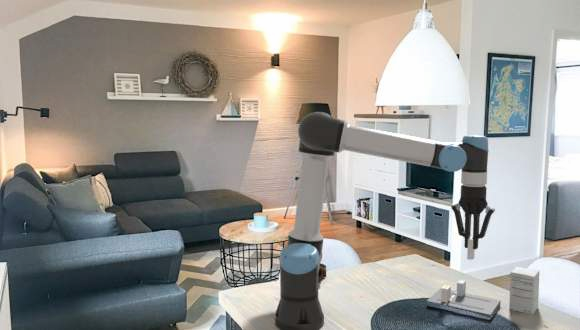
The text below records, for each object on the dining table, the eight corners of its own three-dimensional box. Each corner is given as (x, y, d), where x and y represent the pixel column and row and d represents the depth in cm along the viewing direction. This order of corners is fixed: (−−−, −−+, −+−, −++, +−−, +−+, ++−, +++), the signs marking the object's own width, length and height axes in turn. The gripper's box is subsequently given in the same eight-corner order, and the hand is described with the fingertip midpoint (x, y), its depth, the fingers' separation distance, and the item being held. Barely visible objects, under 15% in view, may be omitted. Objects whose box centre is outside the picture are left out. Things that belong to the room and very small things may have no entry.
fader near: (447, 302, 157) (447, 289, 157) (441, 301, 158) (441, 287, 158) (450, 299, 160) (450, 285, 159) (444, 298, 161) (444, 284, 161)
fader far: (462, 296, 162) (462, 283, 162) (456, 295, 163) (456, 282, 163) (465, 293, 165) (465, 280, 164) (459, 292, 166) (459, 279, 166)
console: (489, 321, 148) (490, 315, 148) (426, 307, 159) (426, 301, 159) (500, 305, 160) (500, 299, 160) (440, 293, 172) (440, 287, 171)
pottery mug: (296, 281, 187) (301, 260, 190) (315, 287, 191) (319, 267, 194) (314, 281, 177) (319, 259, 180) (334, 288, 182) (338, 267, 185)
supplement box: (514, 302, 163) (516, 266, 162) (538, 307, 158) (540, 270, 157) (508, 309, 157) (509, 271, 156) (533, 315, 153) (534, 276, 151)
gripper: (498, 185, 150) (495, 259, 152) (456, 181, 157) (453, 252, 160) (492, 188, 144) (489, 265, 146) (449, 184, 151) (446, 257, 154)
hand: (470, 258), depth 153 cm, fingers closed
